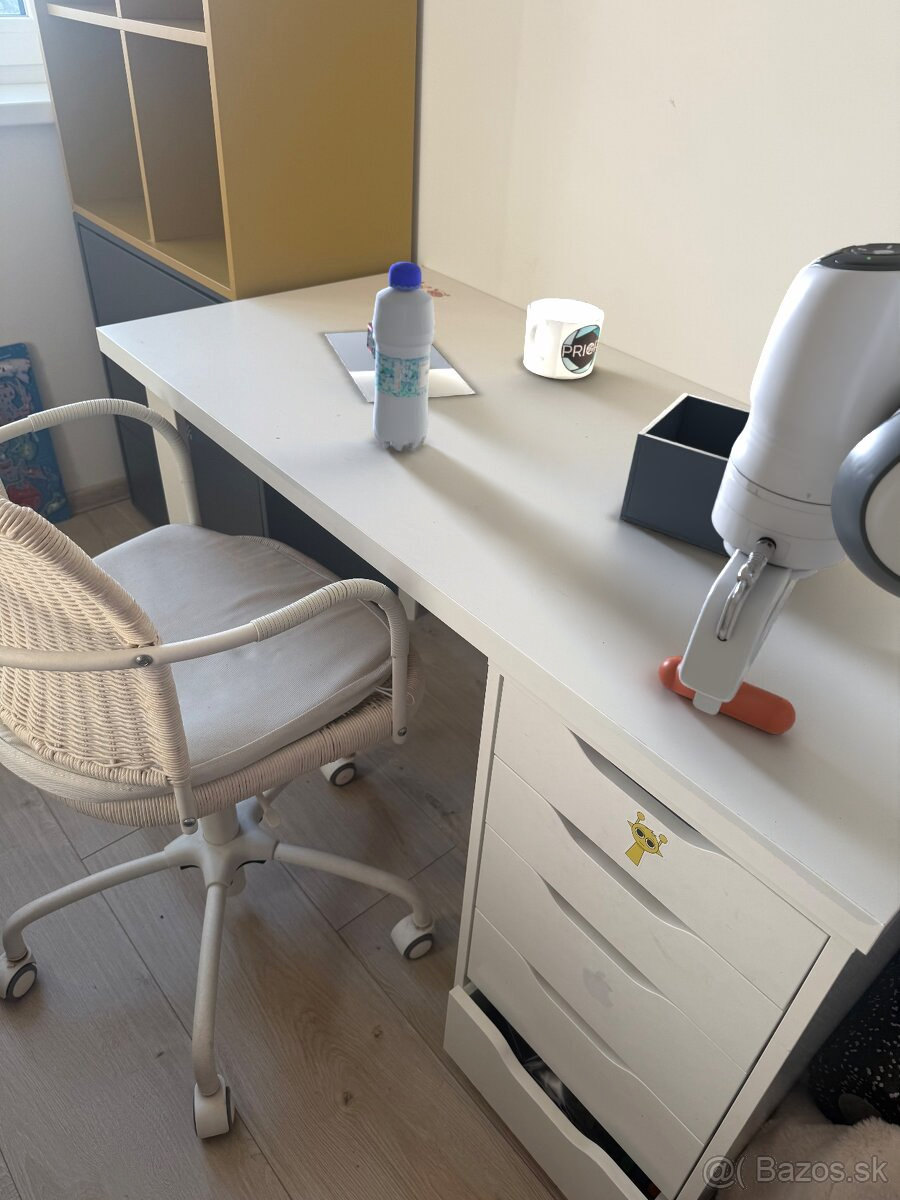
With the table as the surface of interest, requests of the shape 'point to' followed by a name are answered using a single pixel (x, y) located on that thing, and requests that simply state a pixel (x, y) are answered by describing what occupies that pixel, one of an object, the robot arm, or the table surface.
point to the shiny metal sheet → (360, 363)
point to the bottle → (402, 358)
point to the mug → (562, 337)
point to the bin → (683, 469)
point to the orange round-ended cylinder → (738, 701)
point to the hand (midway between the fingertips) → (727, 669)
